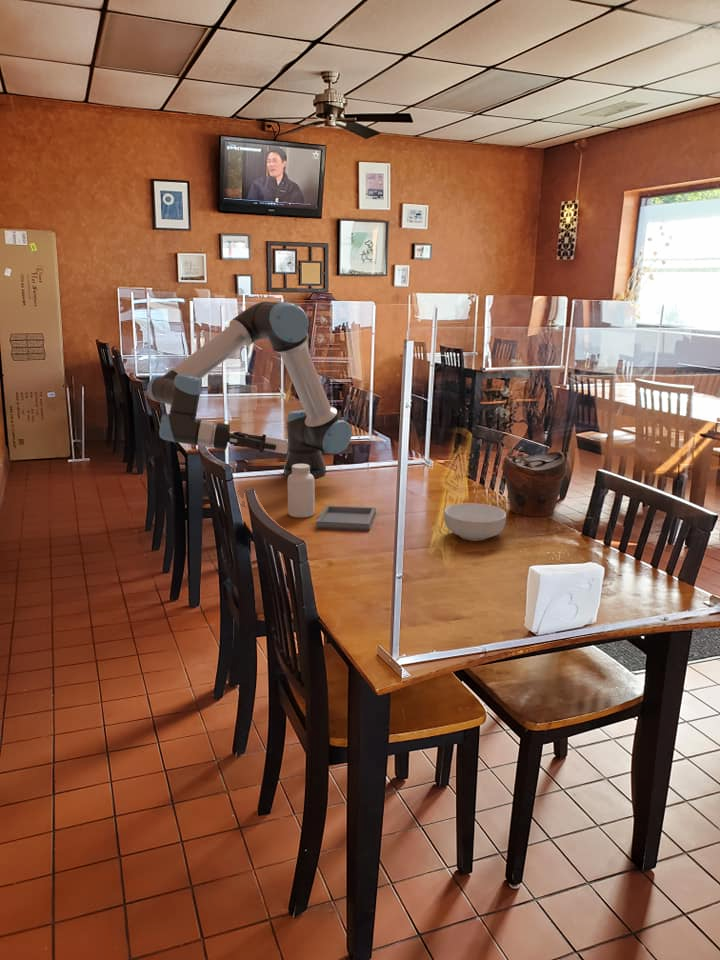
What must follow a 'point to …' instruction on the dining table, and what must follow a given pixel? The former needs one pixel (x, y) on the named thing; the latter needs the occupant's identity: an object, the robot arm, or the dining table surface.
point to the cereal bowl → (474, 520)
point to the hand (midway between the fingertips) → (287, 447)
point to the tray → (346, 518)
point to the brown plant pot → (534, 482)
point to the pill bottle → (301, 492)
